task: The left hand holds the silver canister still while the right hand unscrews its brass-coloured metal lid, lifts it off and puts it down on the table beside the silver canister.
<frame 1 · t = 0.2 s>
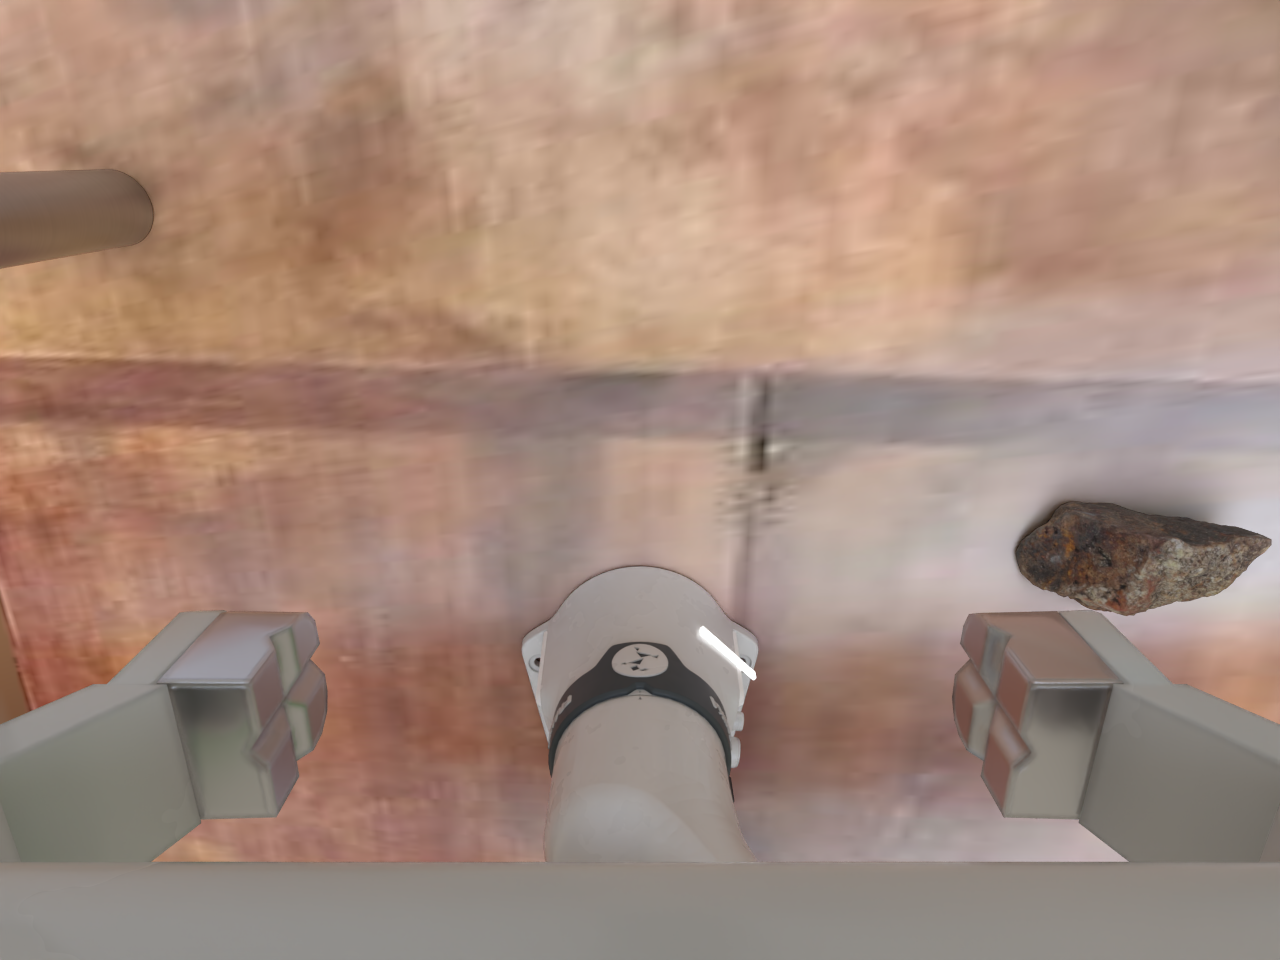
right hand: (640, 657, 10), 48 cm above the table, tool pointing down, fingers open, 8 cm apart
silver canister: (116, 208, 54), on the table
rock: (1111, 542, 63), on the table
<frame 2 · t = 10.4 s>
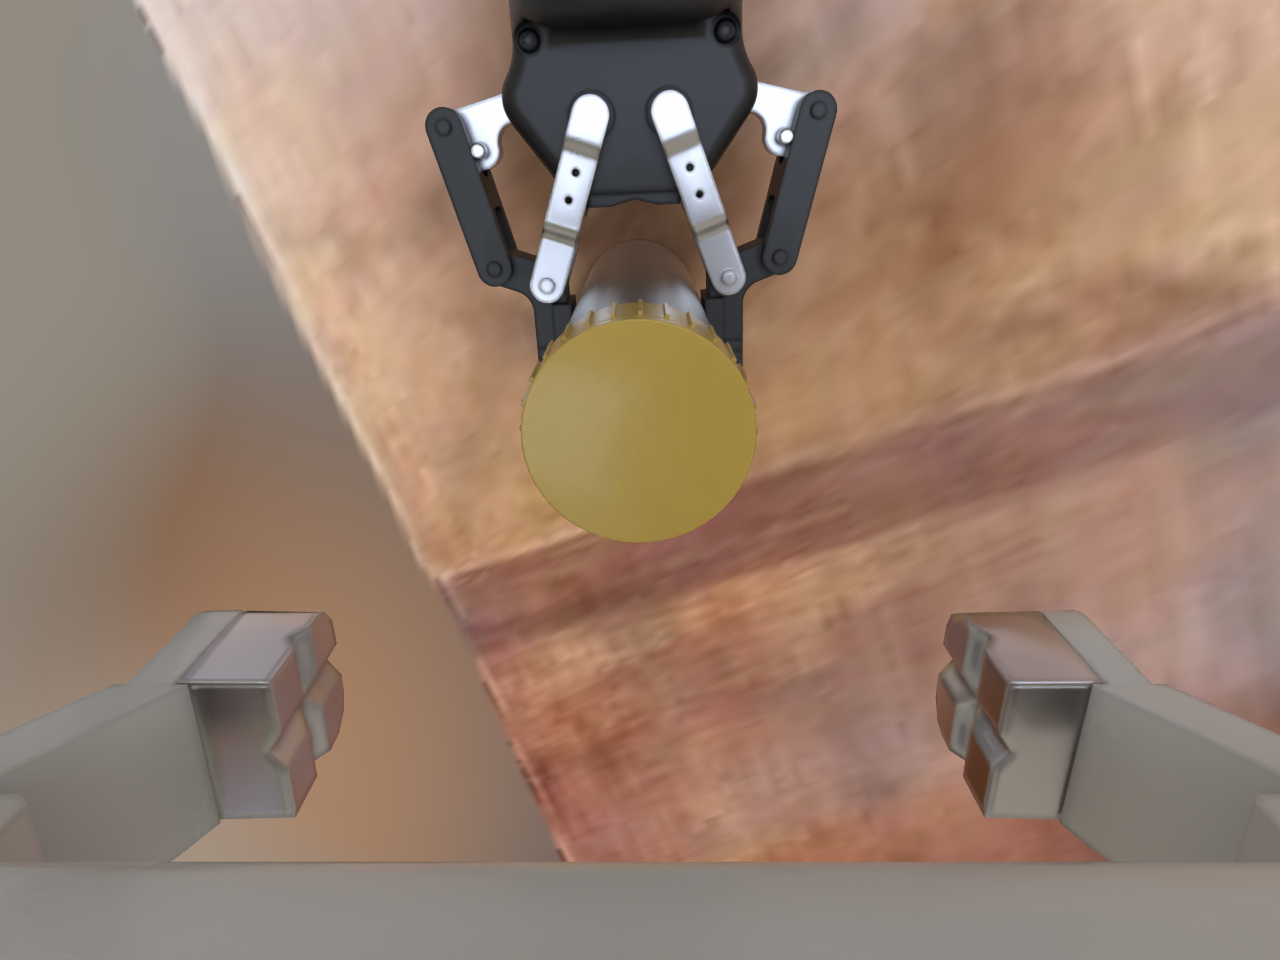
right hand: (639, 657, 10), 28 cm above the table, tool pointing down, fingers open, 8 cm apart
left hand: (642, 392, 32), fingers closed on silver canister, 4 cm apart
silver canister: (639, 295, 37), on the table, touching left hand
lid: (638, 432, 19), point 19 cm above the table, screwed on, not yet turned
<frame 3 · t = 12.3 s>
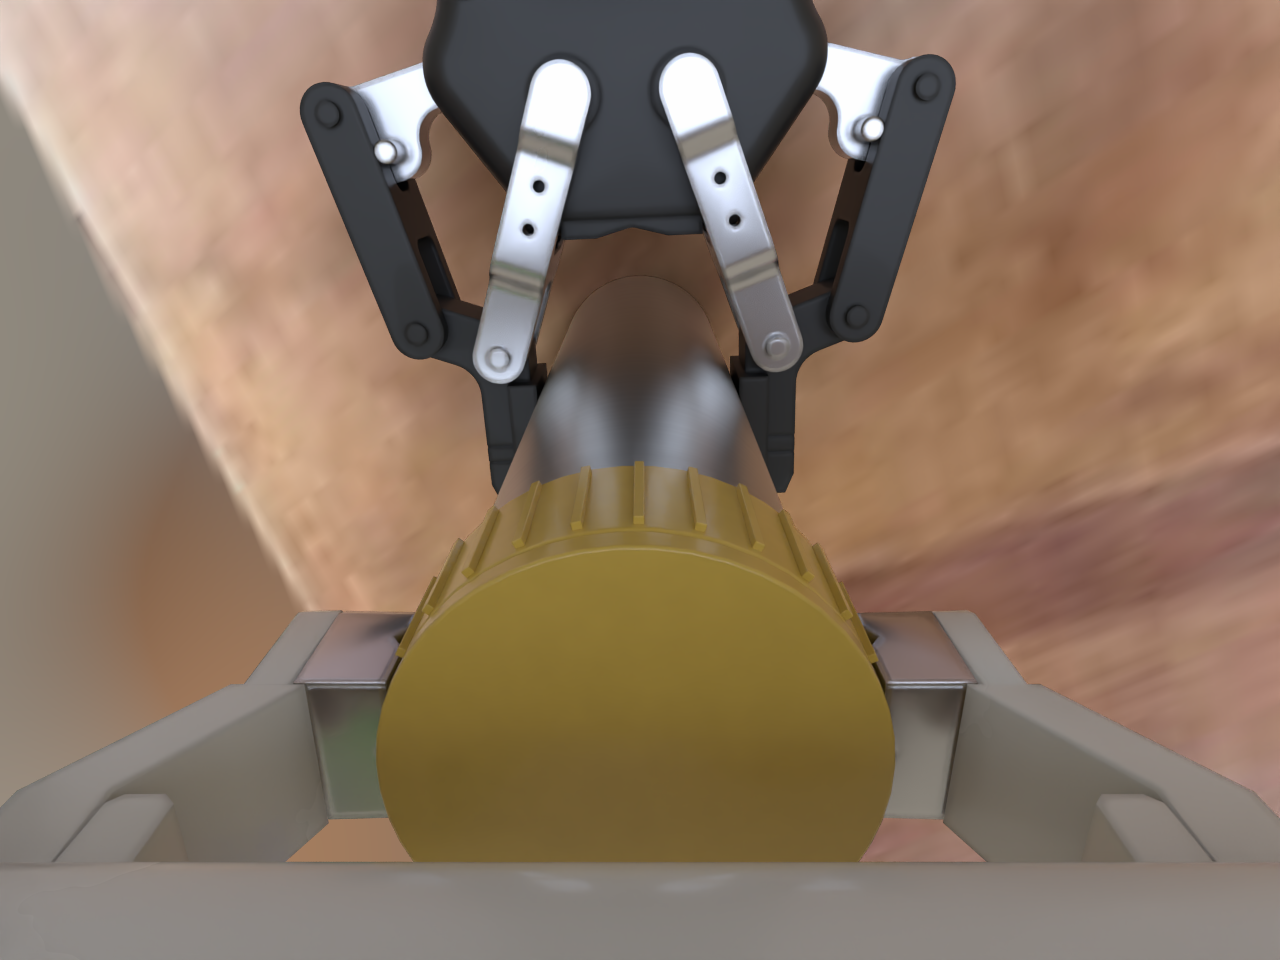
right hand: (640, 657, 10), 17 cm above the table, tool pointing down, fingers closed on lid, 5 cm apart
left hand: (645, 505, 22), fingers closed on silver canister, 4 cm apart
silver canister: (640, 350, 27), on the table, touching left hand
lid: (635, 756, 9), point 19 cm above the table, screwed on, not yet turned, touching right hand
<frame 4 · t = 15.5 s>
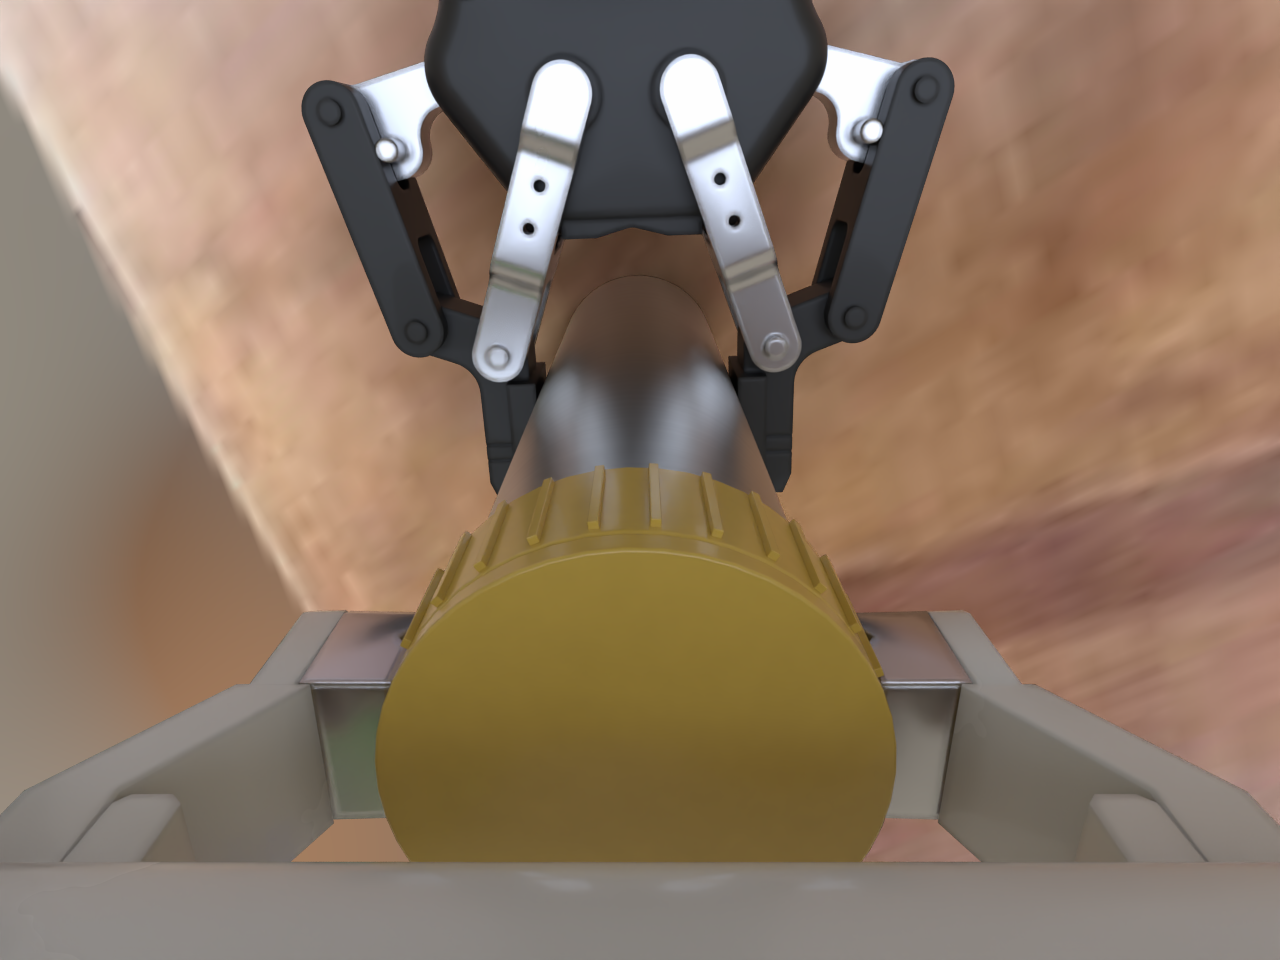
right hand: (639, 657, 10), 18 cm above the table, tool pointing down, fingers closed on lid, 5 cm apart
left hand: (642, 504, 22), fingers closed on silver canister, 4 cm apart
silver canister: (638, 350, 27), on the table, touching left hand
lid: (636, 759, 9), point 19 cm above the table, turned 74° so far, risen 0.1 cm, still on its thread, touching right hand
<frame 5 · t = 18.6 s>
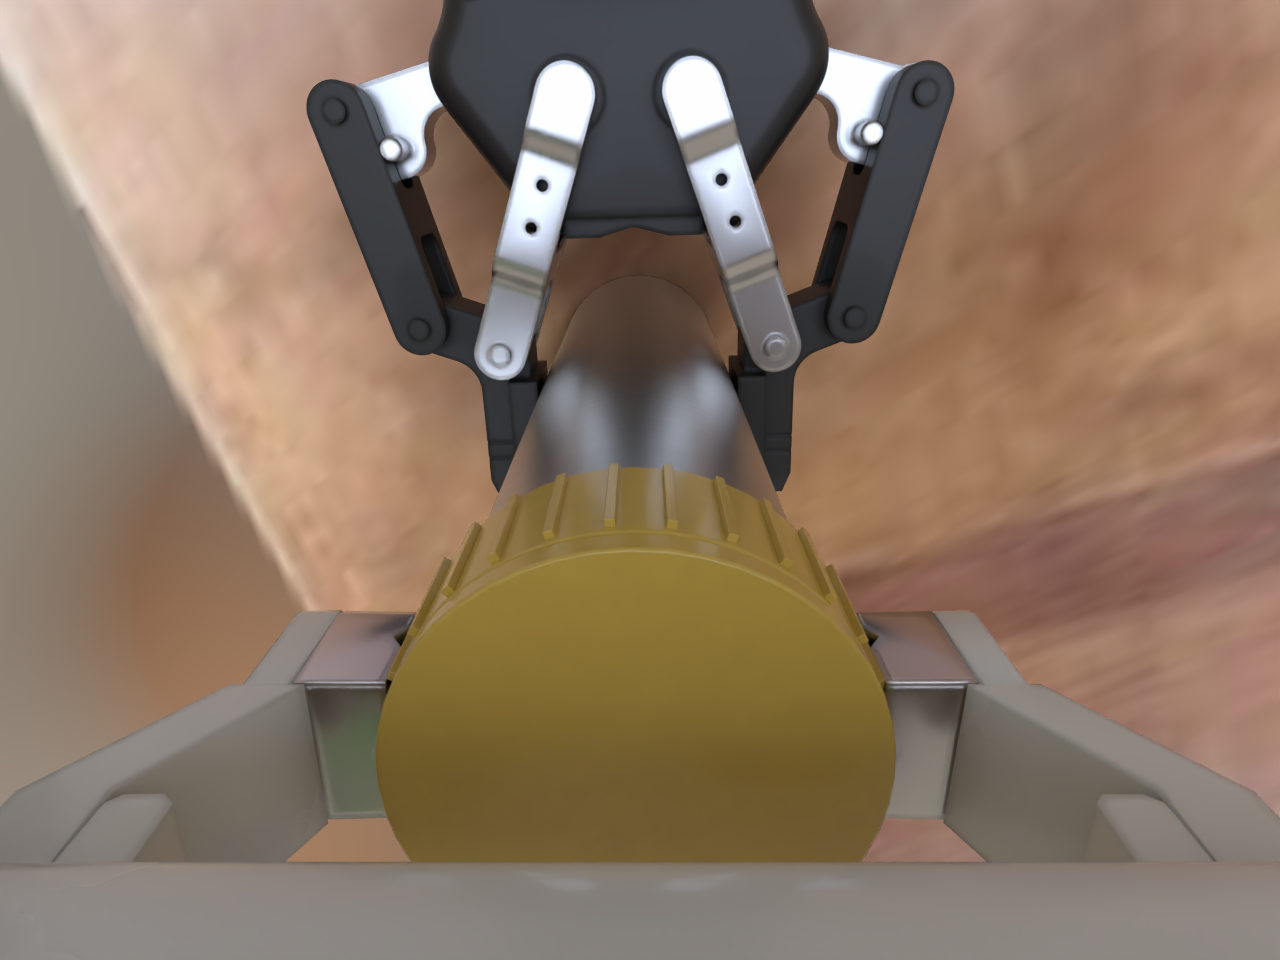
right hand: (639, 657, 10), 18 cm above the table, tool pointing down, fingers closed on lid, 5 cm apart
left hand: (642, 502, 22), fingers closed on silver canister, 4 cm apart
silver canister: (639, 349, 27), on the table, touching left hand
lid: (635, 758, 9), point 20 cm above the table, turned 148° so far, risen 0.2 cm, still on its thread, touching right hand
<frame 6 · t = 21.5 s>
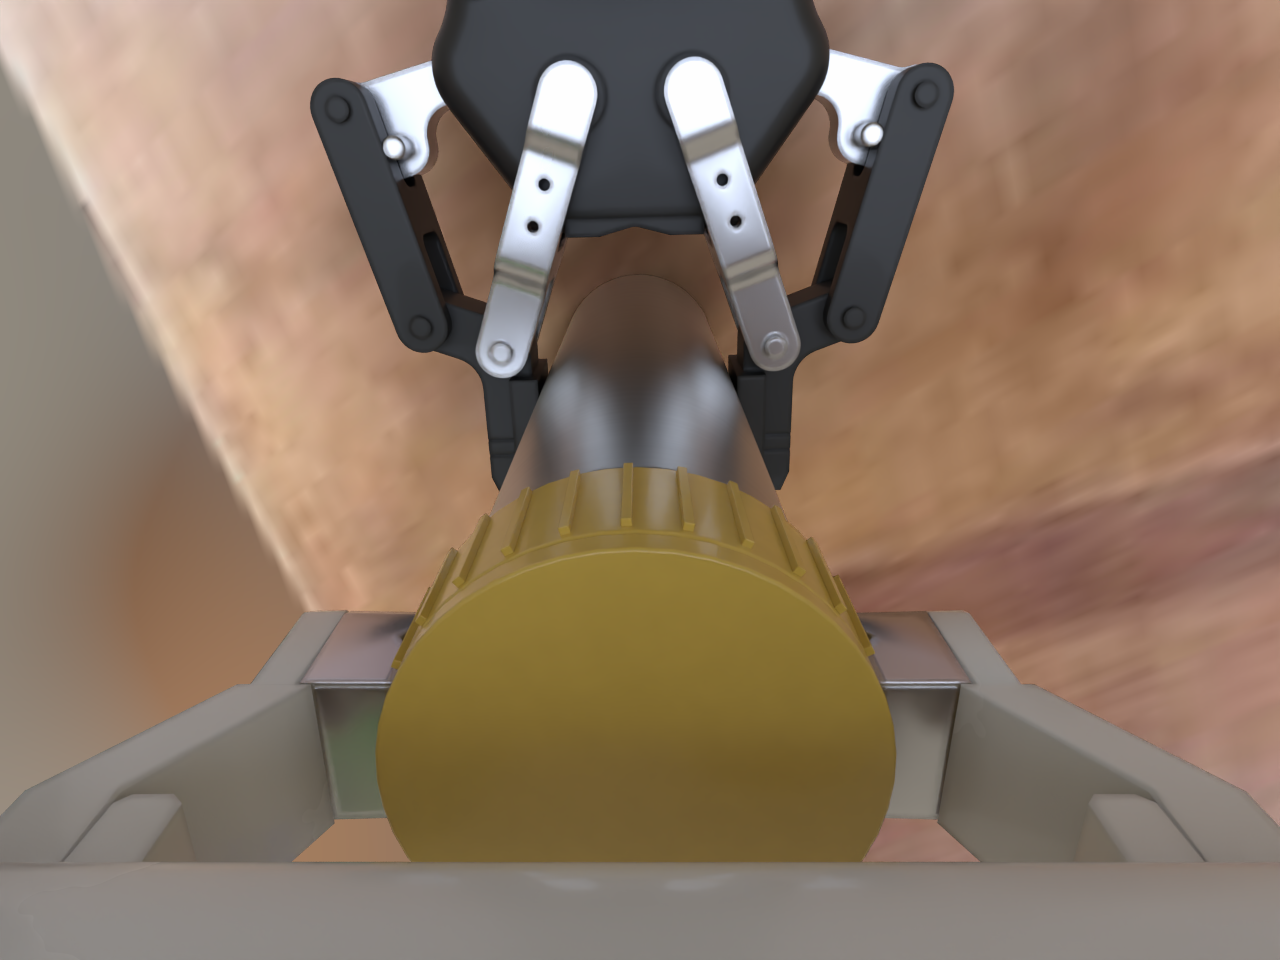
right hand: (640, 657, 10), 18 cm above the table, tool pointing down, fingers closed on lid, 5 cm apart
left hand: (642, 500, 22), fingers closed on silver canister, 4 cm apart
silver canister: (639, 348, 27), on the table, touching left hand
lid: (636, 759, 9), point 20 cm above the table, turned 222° so far, risen 0.4 cm, still on its thread, touching right hand
when the right hand's fingers open (2 cm above the table, at t = 34.7 s): lid drops 2 cm, point 2 cm above the table.
when the left hand's fingers open (6 cm above the table, at t = 35.7 s): silver canister stays where it is, on the table.
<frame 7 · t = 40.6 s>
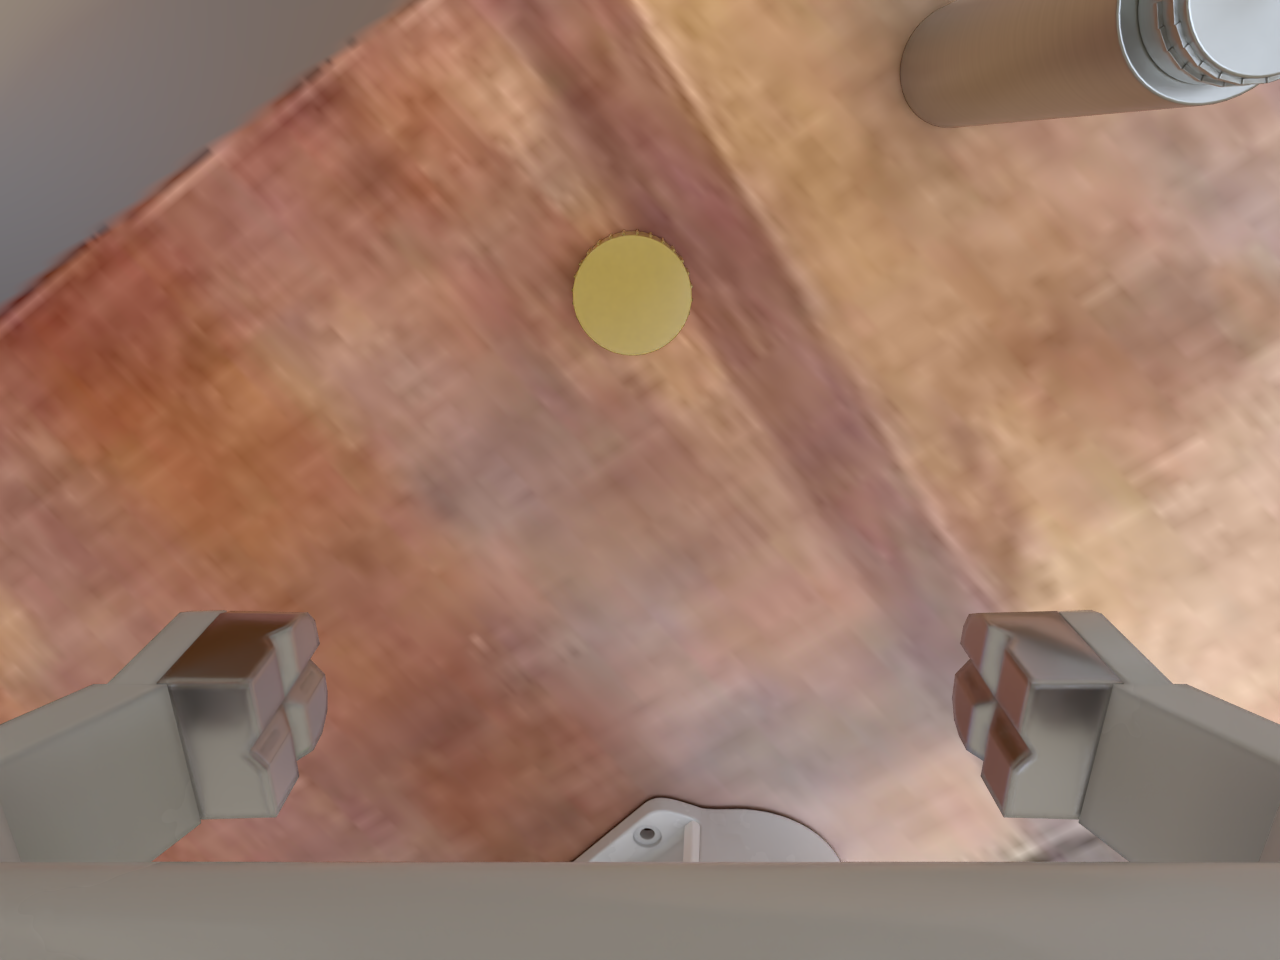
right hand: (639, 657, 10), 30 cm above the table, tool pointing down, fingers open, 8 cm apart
silver canister: (956, 66, 35), on the table
lid: (632, 295, 37), point 2 cm above the table, off its thread
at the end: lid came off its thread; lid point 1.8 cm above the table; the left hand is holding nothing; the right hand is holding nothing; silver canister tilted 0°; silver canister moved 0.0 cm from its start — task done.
